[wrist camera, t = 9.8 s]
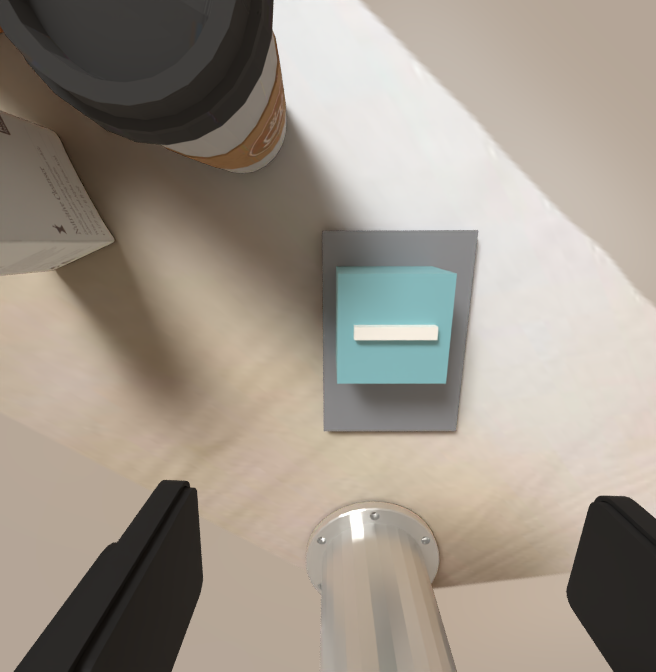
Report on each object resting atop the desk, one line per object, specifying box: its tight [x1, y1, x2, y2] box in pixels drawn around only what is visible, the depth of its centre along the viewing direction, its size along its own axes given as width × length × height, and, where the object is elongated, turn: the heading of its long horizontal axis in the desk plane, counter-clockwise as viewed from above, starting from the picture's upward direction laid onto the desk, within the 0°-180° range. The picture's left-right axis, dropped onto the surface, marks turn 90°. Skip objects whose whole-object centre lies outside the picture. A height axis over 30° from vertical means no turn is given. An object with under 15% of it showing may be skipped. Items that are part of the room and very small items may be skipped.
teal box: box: [336, 266, 457, 384], centre depth 24 cm, size 7×7×6 cm
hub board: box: [322, 230, 478, 431], centre depth 25 cm, size 16×11×5 cm
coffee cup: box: [0, 0, 287, 173], centre depth 16 cm, size 8×8×15 cm
